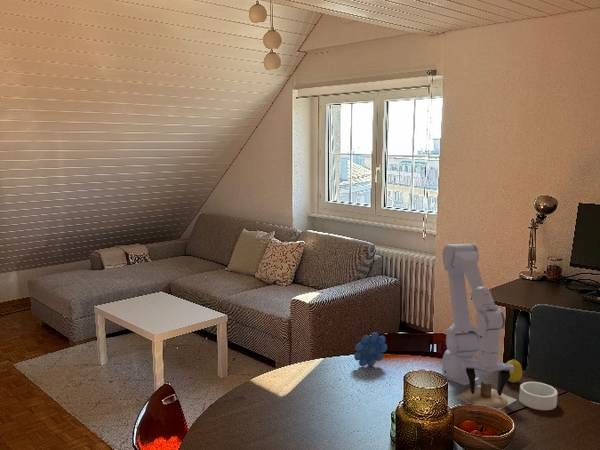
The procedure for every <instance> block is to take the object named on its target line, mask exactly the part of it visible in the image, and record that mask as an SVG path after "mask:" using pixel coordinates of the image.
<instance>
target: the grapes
mask: <svg viewBox="0 0 600 450" xmlns="http://www.w3.org/2000/svg"><path fill="white" fill-rule="evenodd" d="M360 341H361V342H358V343H356V345H355V347H354V349H355V353H354V356H353V358H354V361H358V364H359V366H360V367H364V366H365V367H366V365H367V366H368V367H373V366H374V365H375V364H376V362H380V361H382V360H383V358H384V353H385V352H386V351H387V350H388V344H387V343H385V342H386V337H385V336H384V335H379V333H378V332H375V331H374V332H371V334H370V335H368V334H365V335H363V336H362V337H361V340H360Z"/></svg>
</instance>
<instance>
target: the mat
mask: <svg viewBox="0 0 600 450" xmlns="http://www.w3.org/2000/svg"><path fill="white" fill-rule="evenodd" d="M474 386H475V387H481V384H480V385H479V384H478V385H474ZM504 395H505V396H506V397H507V403H506V405H504V406H502V407H498V408H497V409H499V411H501V410H502V409H505V408H506V407H507V406H509V405H510V404H512V403H514V402H516V401H518V399H516V398H514V397H512V396H508V395H507V394H504ZM454 398H455V399H457V400H460V401H462V402H464V403H466V404H469V405H471V404H472V403H470V402H469V401H467V400H466V398H465V391H463V392H461V393H459V394H457V395H456V396H454Z"/></svg>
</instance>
